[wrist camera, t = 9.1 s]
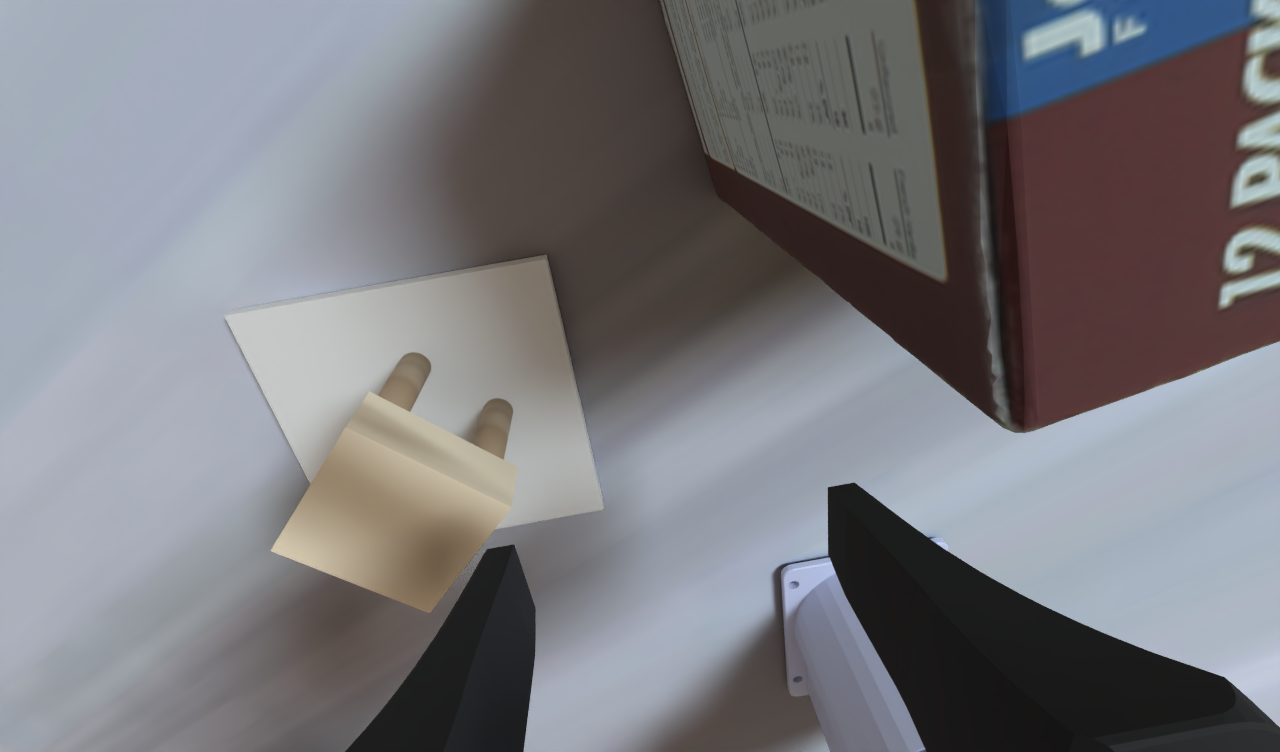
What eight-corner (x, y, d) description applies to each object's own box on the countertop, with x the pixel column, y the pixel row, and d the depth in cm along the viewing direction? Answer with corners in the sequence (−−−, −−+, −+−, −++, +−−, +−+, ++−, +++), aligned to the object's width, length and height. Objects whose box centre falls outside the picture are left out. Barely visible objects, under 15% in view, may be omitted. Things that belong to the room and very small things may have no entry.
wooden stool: (462, 495, 24) (429, 613, 19) (343, 438, 22) (270, 550, 17) (527, 405, 23) (511, 507, 17) (405, 337, 21) (345, 426, 16)
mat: (603, 500, 26) (603, 509, 25) (351, 546, 26) (347, 556, 25) (546, 254, 21) (545, 259, 20) (233, 309, 20) (223, 315, 20)
